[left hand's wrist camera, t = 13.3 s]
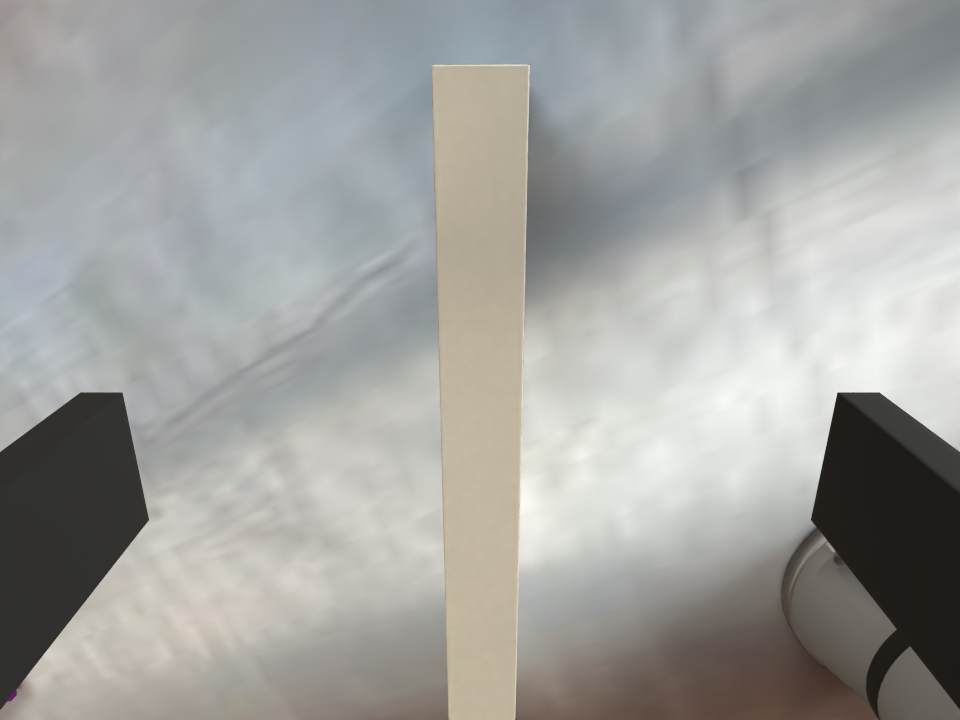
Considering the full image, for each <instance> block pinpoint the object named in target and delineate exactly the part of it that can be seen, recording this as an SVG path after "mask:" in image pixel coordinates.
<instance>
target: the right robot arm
mask: <svg viewBox="0 0 960 720" xmlns="http://www.w3.org/2000/svg"><path fill="white" fill-rule="evenodd" d="M782 603H783V609H784V613H785V616H786V618H787V621H788V623H789V624H790V626H791V628H792V630H793V631H794V633H795V635H796V636H797V638H798V640H799V641H800V643H801V644H802V645H803V647H804V648H805V649H806V650H807V651H808V652H809V654H810V655H811V656H812V657H813V658H814V659H815V660H817V661H818V662H819V663H820V664H822V665H823V666H824V667H826V668H827V669H829V670H830V671H831V672H832V673H833V674H835V675H836V676H837V677H838V678H839V679H840V680H841V681H842V682H844V683H845V684H846V685H847V686H848V687H849V688H851V689H852V690H853V691H854V692H855V693H856V694H858V695H859V696H860V697H861V698H862V699H864V700H865V701H866V702H867V703H868V704H869V705H870V706H871V708H872V709H873V711H874V713H875V714H876V716H877V717H878V719H879V720H960V709H959V708H958V707H957V706H956V704H955V703H954V702H953V700H952V699H951V698H950V697H949V695H948V694H947V693H946V692H945V690H944V689H943V688H942V686H941V685H940V684H939V683H938V681H937V680H936V679H935V677H934V676H933V675H932V674H931V672H930V671H929V670H928V669H927V667H926V666H925V665H924V663H923V662H922V661H921V660H920V658H919V657H918V656H917V654H916V653H915V652H914V651H913V649H912V648H911V647H910V646H909V644H908V643H907V642H906V640H905V639H904V638H903V637H902V635H901V634H900V633H899V632H898V630H897V629H896V628H895V626H894V625H893V624H892V623H891V621H890V620H889V619H888V617H887V616H886V615H885V614H884V612H883V611H882V610H881V609H880V607H879V606H878V605H877V603H876V602H875V601H874V600H873V598H872V597H871V596H870V594H869V593H868V592H867V591H866V589H865V588H864V587H863V586H862V584H861V583H860V582H859V580H858V579H857V578H856V577H855V575H854V574H853V573H852V571H851V570H850V569H849V568H848V566H847V565H846V564H845V563H844V561H843V560H842V559H841V557H840V556H839V555H838V554H837V552H836V551H835V550H834V549H833V547H832V546H831V545H830V543H829V542H828V541H827V540H826V538H825V537H824V536H823V534H822V533H821V532H820V531H819V529H817V530H816V531H814V532H813V533H812V534H811V535H810V536H809V537H808V538H807V539H806V541H805V542H804V543H803V544H802V545H801V547H800V548H799V549H798V550H797V552H796V554H795V555H794V557H793V558H792V560H791V562H790V564H789V566H788V569H787V572H786V574H785V578H784V582H783V588H782Z"/></svg>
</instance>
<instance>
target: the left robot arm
mask: <svg viewBox="0 0 960 720" xmlns="http://www.w3.org/2000/svg"><path fill="white" fill-rule="evenodd" d="M148 520H149V518H148V513H147V508H146V503H145V499H144V494H143V489H142V484H141V479H140V475H139V470H138V465H137V460H136V455H135V451H134V446H133V441H132V436H131V431H130V427H129V422H128V417H127V412H126V407H125V403H124V398H123V393H79V394H78V395H77V396H75V397H74V398H73V399H71V400H70V401H69V402H67V403H66V404H65V405H63V406H62V407H61V408H59V409H58V410H57V411H55V412H54V413H52V414H51V415H50V416H48V417H47V418H46V419H44V420H43V421H42V422H40V423H39V424H38V425H36V426H35V427H34V428H32V429H31V430H29V431H28V432H27V433H25V434H24V435H23V436H21V437H20V438H19V439H17V440H16V441H15V442H13V443H12V444H11V445H9V446H8V447H6V448H5V449H4V450H2V451H1V452H0V709H1V708H2V707H3V706H4V704H5V703H6V702H7V700H8V699H9V698H10V697H11V695H12V694H13V693H14V692H15V690H16V689H17V688H18V686H19V685H20V684H21V683H22V681H23V680H24V679H25V677H26V676H27V675H28V674H29V672H30V671H31V670H32V669H33V667H34V666H35V665H36V663H37V662H38V661H39V660H40V658H41V657H42V656H43V654H44V653H45V652H46V651H47V649H48V648H49V647H50V646H51V644H52V643H53V642H54V640H55V639H56V638H57V637H58V635H59V634H60V633H61V631H62V630H63V629H64V628H65V626H66V625H67V624H68V623H69V621H70V620H71V619H72V617H73V616H74V615H75V614H76V612H77V611H78V610H79V609H80V607H81V606H82V605H83V603H84V602H85V601H86V600H87V598H88V597H89V596H90V594H91V593H92V592H93V591H94V589H95V588H96V587H97V586H98V584H99V583H100V582H101V580H102V579H103V578H104V577H105V575H106V574H107V573H108V571H109V570H110V569H111V568H112V566H113V565H114V564H115V563H116V561H117V560H118V559H119V557H120V556H121V555H122V554H123V552H124V551H125V550H126V549H127V547H128V546H129V545H130V543H131V542H132V541H133V540H134V538H135V537H136V536H137V534H138V533H139V532H140V531H141V529H142V528H143V527H144V526H145V524H146V523H147V522H148ZM811 520H812V522H813V523H814V524H815V526H816V527H817V528H818V529H819V531H820V532H821V533H822V534H823V536H824V537H825V538H826V540H827V541H828V542H829V543H830V545H831V546H832V547H833V549H834V550H835V551H836V552H837V554H838V555H839V556H840V557H841V559H842V560H843V561H844V563H845V564H846V565H847V566H848V568H849V569H850V570H851V571H852V573H853V574H854V575H855V577H856V578H857V579H858V580H859V582H860V583H861V584H862V586H863V587H864V588H865V589H866V591H867V592H868V593H869V594H870V596H871V597H872V598H873V600H874V601H875V602H876V603H877V605H878V606H879V607H880V609H881V610H882V611H883V612H884V614H885V615H886V616H887V617H888V619H889V620H890V621H891V623H892V624H893V625H894V626H895V628H896V629H897V630H898V632H899V633H900V634H901V635H902V637H903V638H904V639H905V640H906V642H907V643H908V644H909V646H910V647H911V648H912V649H913V651H914V652H915V653H916V654H917V656H918V657H919V658H920V660H921V661H922V662H923V663H924V665H925V666H926V667H927V669H928V670H929V671H930V672H931V674H932V675H933V676H934V677H935V679H936V680H937V681H938V683H939V684H940V685H941V686H942V688H943V689H944V690H945V692H946V693H947V694H948V695H949V697H950V698H951V699H952V700H953V702H954V703H955V704H956V706H957V707H958V708H959V709H960V452H959V451H958V450H956V449H955V448H954V447H952V446H951V445H949V444H948V443H947V442H945V441H944V440H943V439H941V438H940V437H939V436H937V435H936V434H935V433H933V432H932V431H931V430H929V429H928V428H926V427H925V426H924V425H922V424H921V423H920V422H918V421H917V420H916V419H914V418H913V417H912V416H910V415H909V414H908V413H906V412H905V411H903V410H902V409H901V408H899V407H898V406H897V405H895V404H894V403H893V402H891V401H890V400H889V399H887V398H886V397H885V396H883V395H882V394H881V393H837V398H836V403H835V407H834V412H833V417H832V422H831V427H830V431H829V436H828V441H827V446H826V451H825V455H824V460H823V465H822V470H821V475H820V479H819V484H818V489H817V494H816V499H815V503H814V508H813V513H812V518H811Z"/></svg>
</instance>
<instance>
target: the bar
mask: <svg viewBox="0 0 960 720" xmlns="http://www.w3.org/2000/svg"><path fill="white" fill-rule="evenodd" d="M529 73H530V66H529V65H432V99H433V138H434V176H435V215H436V254H437V293H438V331H439V370H440V409H441V447H442V486H443V525H444V563H445V602H446V641H447V679H448V718H449V720H515V706H516V661H517V616H518V571H519V525H520V480H521V435H522V390H523V345H524V299H525V254H526V209H527V164H528V118H529Z"/></svg>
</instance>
